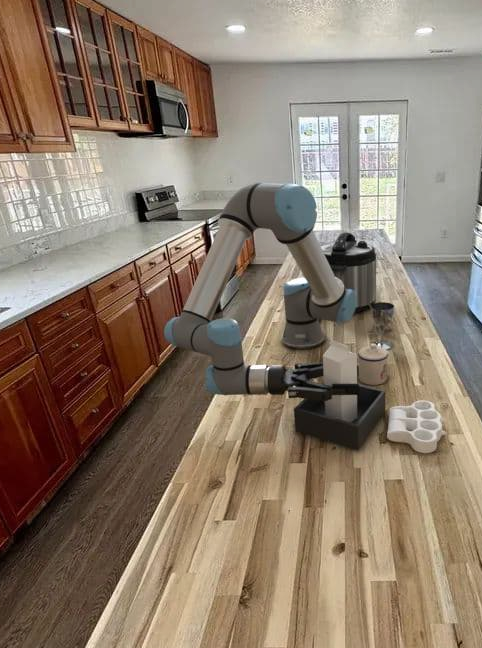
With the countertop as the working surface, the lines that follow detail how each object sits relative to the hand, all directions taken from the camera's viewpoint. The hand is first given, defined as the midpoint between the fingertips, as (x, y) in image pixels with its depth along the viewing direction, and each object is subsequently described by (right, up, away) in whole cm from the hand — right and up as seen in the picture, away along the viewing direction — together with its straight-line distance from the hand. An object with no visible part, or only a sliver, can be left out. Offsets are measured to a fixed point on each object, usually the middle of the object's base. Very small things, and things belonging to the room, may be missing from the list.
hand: (358, 379), depth 109 cm
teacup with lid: (+6, -1, +27) cm, 28 cm away
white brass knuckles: (+15, -13, +2) cm, 20 cm away
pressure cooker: (-3, +27, +86) cm, 90 cm away
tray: (-4, -12, +6) cm, 14 cm away
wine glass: (+10, +9, +48) cm, 49 cm away
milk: (-4, -11, +5) cm, 13 cm away
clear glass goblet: (+11, +15, +60) cm, 63 cm away
